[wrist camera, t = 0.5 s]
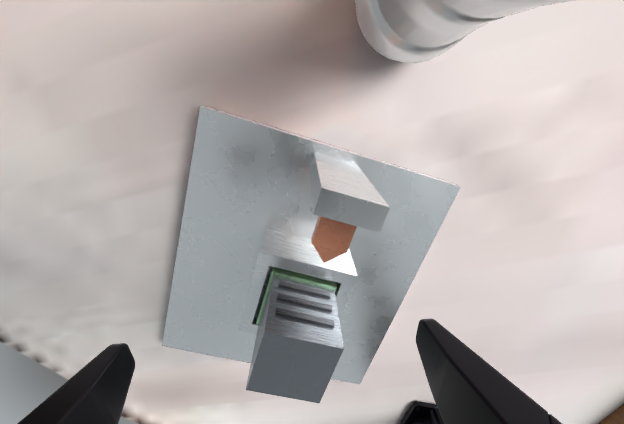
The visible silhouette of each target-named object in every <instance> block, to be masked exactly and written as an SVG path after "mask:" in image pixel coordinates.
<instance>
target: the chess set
mask: <svg viewBox="0 0 624 424" xmlns="http://www.w3.org/2000/svg"><path fill="white" fill-rule="evenodd" d="M599 424H624V404H623V405H622V406H620V407H619V408H618V409H617V410H615V411H614V412H613V413H612V414H610V415H609V416H608V417H607V418H605V419H604V420H603V421H601V422H600V423H599Z"/></svg>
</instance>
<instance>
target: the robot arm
mask: <svg viewBox="0 0 624 424" xmlns="http://www.w3.org/2000/svg"><path fill="white" fill-rule="evenodd" d="M416 344H417V347H418V350H419V354H420V357H421V360H422V363H423V366H424V370H425V373H426V376H427V379H428V382H429V386H430V389H431V392H432V394H433V397H434V400H435V402H436V404H437V405H433V404H428V403H422V402H415V403H413V404H412V406H411V408H410V409H409V411H408V412H407V414H406V416H405V417H404V419H403V420H402V422H401V424H562V423H561V422H559V421H558V420H557V419H556V418H555V417H553V416H552V415H551V414H549V415H548V412H547V411H546V410H545V409H543V408H542V407H541V406H540V405H538V404H537V403H536V402H535V401H534V400H532V399H531V398H530V397H529V396H527V395H526V394H525V393H524V392H522V391H521V390H520V389H519V388H518V387H516V386H515V385H514V384H513V383H511V382H510V381H509V380H508V379H507V378H505V377H504V376H503V375H502V374H500V373H499V372H498V371H497V370H496V369H494V368H493V367H492V366H491V365H489V364H488V363H487V362H486V361H484V360H483V359H482V358H481V357H480V356H478V355H477V354H476V353H475V352H473V351H472V350H471V349H470V348H469V347H467V346H466V345H465V344H464V343H462V342H461V341H460V340H459V339H458V338H456V337H455V336H454V335H453V334H451V333H450V332H449V331H448V330H446V329H445V328H444V327H443V326H442V325H440V324H439V323H438V322H437V321H435V320H434V319H422V320H420V321H419V325H418V330H417V334H416ZM134 369H135V361H134V358H133V356H132V354H131V351H130V349H129V347H128V345H127V344H125V343H122V344H112V345H110V346H108V347H107V348H106V349H105V350H103V351H102V352H101V353H100V354H99V355H98V356H96V357H95V358H94V359H93V360H92V361H91V362H89V363H88V364H87V365H86V366H85V367H84V368H82V369H81V370H80V371H79V372H78V373H77V374H75V375H74V376H73V377H72V378H71V379H69V380H68V381H67V382H66V383H65V384H64V385H62V386H61V387H60V388H59V389H58V390H57V391H55V392H54V393H53V394H52V395H51V396H50V397H48V398H47V399H46V400H45V401H44V402H43V403H42V404H40V405H39V406H38V407H37V408H35V409H34V410H33V411H32V412H31V413H30V414H29V415H27V416H26V417H25V418H24V419H23V420H21V421H20V422H19V423H18V424H118V423H119V419H120V417H121V413H122V410H123V406H124V403H125V400H126V396H127V393H128V389H129V386H130V383H131V379H132V376H133V372H134Z"/></svg>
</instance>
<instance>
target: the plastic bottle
mask: <svg viewBox="0 0 624 424" xmlns="http://www.w3.org/2000/svg"><path fill="white" fill-rule="evenodd" d="M568 1H574V0H355V5H356V15H357V19H358V23H359V26H360V29H361V31H362V33H363V35H364V37H365V39H366V40H367V42H368V43H369V44H370V46H371V47H372V48H373V49H374V50H375V51H377V52H378V53H379V54H380V55H382V56H384V57H386V58H388V59H391V60H395V61H399V62H403V63H418V62H423V61H427V60H430V59H432V58H434V57H436V56H439V55H440V54H442V53H443V52H445V51H447V50H448V49H450V48H451V47H452V46H454V45H455V44H457V43H458V42H460V41H461V40H462V39H463V38H464V37H465V36H467V35H468V34H469V33H471V32H473V31H475V30H476V29H478V28H480V27H482V26H484V25H485V24H487V23H489V22H491V21H493V20H497V19H500V18H503V17H505V16H509V15H513V14H516V13H520V12H523V11H526V10H529V9H533V8H536V7H539V6H544V5H550V4H556V3H562V2H568Z"/></svg>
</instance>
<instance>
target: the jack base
mask: <svg viewBox="0 0 624 424" xmlns="http://www.w3.org/2000/svg"><path fill="white" fill-rule="evenodd" d="M459 189H460V186H458V185H456V184H455V183H452V182H449V181H446V180H442V179H439V178H436V177H433V176H429V175H426V174H423V173H420V172H417V171H413V170H410V169H407V168H404V167H400V166H397V165H394V164H391V163H388V162H384V161H381V160H378V159H375V158H371V157H368V156H365V155H362V154H359V153H355V152H352V151H349V150H346V149H342V148H339V147H336V146H333V145H330V144H326V143H323V142H320V141H317V140H314V139H310V138H307V137H304V136H301V135H297V134H294V133H291V132H288V131H285V130H281V129H278V128H275V127H272V126H268V125H265V124H262V123H259V122H256V121H252V120H249V119H246V118H243V117H239V116H236V115H233V114H230V113H227V112H223V111H220V110H217V109H214V108H210V107H207V106H200V111H199V117H198V123H197V130H196V136H195V142H194V148H193V155H192V161H191V167H190V173H189V180H188V186H187V192H186V198H185V205H184V211H183V217H182V223H181V230H180V236H179V242H178V248H177V255H176V261H175V267H174V273H173V280H172V286H171V292H170V298H169V304H168V311H167V317H166V323H165V329H164V336H163V342H162V346H166V347H171V348H177V349H182V350H187V351H192V352H197V353H202V354H207V355H212V356H218V357H223V358H228V359H233V360H238V361H243V362H248V363H251V360H252V355H253V350H254V345H255V339H256V334H257V329H258V325H257V324H256V321H257V317H258V313H259V310H260V307H261V303H262V300H263V297H264V292H265V288H266V285H267V282H268V278H269V275H270V272H271V268H272V267H276V268H281V269H285V270H289V271H293V272H297V273H301V274H305V275H309V276H313V277H318V278H322V279H326V280H330V281H334V282H336V284H337V289H336V291H335V297H336V303H337V309H338V315H339V321H340V328H341V334H342V340H343V346H344V350H343V352H342V355H341V357H340V359H339V361H338V363H337V366H336V368H335V370H334V372H333V374H332V376H331V379H336V380H341V381H346V382H351V383H356V384H360V383H361V381H362V379H363V377H364V375H365V373H366V371H367V369H368V367H369V365H370V363H371V361H372V359H373V357H374V355H375V353H376V351H377V350H378V348H379V346H380V344H381V342H382V340H383V338H384V336H385V334H386V332H387V330H388V328H389V326H390V324H391V322H392V320H393V318H394V316H395V314H396V312H397V310H398V308H399V307H400V305H401V303H402V301H403V299H404V297H405V295H406V293H407V291H408V289H409V287H410V285H411V283H412V281H413V279H414V277H415V275H416V273H417V271H418V269H419V267H420V265H421V264H422V262H423V260H424V258H425V256H426V254H427V252H428V250H429V248H430V246H431V244H432V242H433V240H434V238H435V236H436V234H437V232H438V230H439V228H440V226H441V224H442V222H443V221H444V219H445V217H446V215H447V213H448V211H449V209H450V207H451V205H452V203H453V201H454V199H455V197H456V195H457V193H458V191H459Z"/></svg>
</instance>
